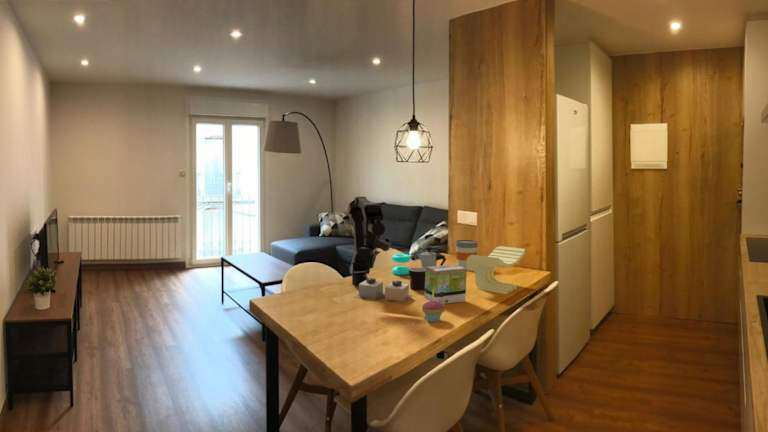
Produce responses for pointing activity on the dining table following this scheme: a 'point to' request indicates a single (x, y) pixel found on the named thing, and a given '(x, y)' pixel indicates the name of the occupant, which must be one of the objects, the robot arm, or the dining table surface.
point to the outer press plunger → (397, 283)
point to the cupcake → (433, 309)
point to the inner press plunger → (371, 280)
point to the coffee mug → (417, 278)
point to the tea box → (446, 283)
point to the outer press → (396, 292)
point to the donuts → (401, 259)
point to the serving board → (382, 298)
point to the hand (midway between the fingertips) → (371, 268)
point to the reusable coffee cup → (465, 251)
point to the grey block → (371, 289)
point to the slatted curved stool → (487, 264)
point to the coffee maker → (430, 258)
